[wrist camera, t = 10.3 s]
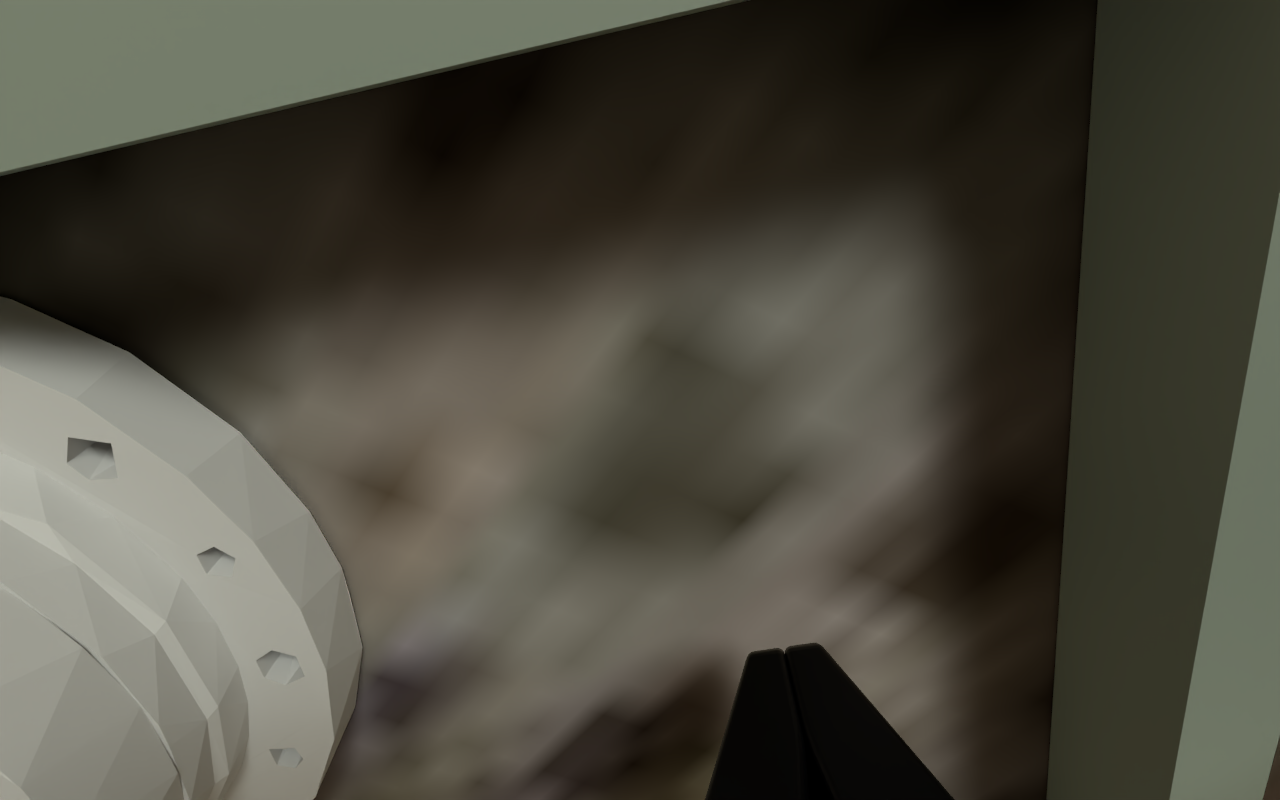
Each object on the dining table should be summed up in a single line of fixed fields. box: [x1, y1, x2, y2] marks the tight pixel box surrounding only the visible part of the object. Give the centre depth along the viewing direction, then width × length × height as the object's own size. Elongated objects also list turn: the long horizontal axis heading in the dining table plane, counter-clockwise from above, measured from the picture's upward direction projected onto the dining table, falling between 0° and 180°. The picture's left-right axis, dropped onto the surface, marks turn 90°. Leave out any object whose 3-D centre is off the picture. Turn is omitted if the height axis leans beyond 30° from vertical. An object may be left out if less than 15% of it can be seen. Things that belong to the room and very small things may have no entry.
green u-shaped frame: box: [0, 0, 1280, 800], centre depth 9 cm, size 20×16×2 cm
